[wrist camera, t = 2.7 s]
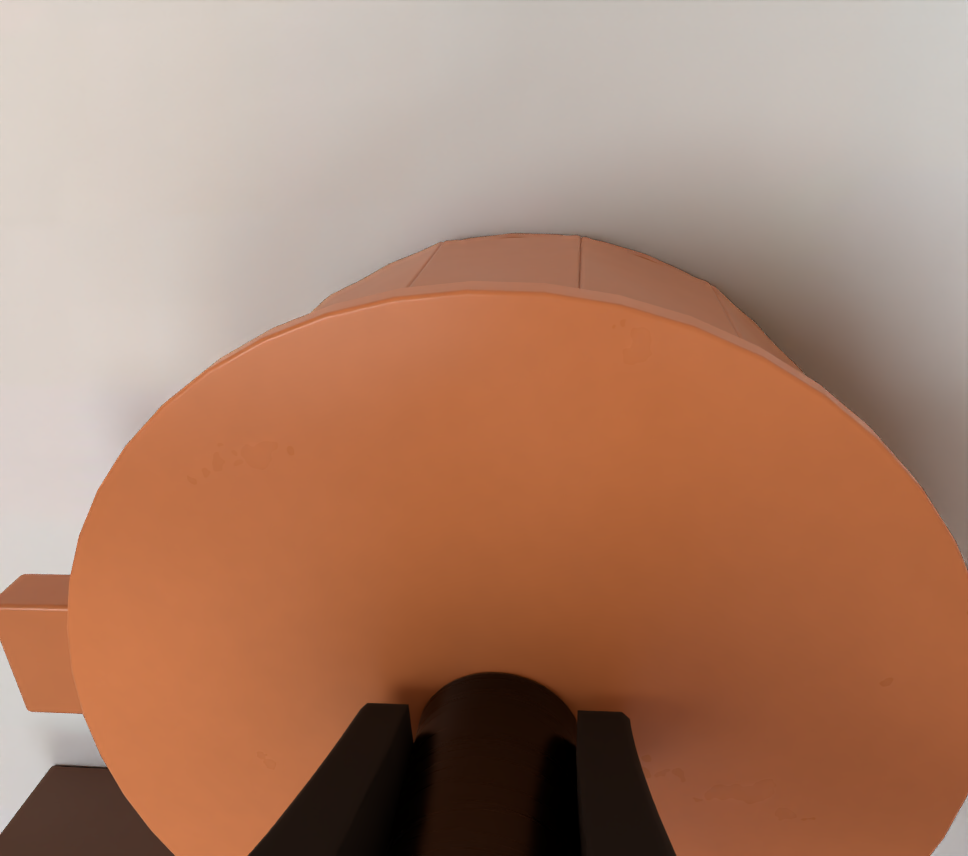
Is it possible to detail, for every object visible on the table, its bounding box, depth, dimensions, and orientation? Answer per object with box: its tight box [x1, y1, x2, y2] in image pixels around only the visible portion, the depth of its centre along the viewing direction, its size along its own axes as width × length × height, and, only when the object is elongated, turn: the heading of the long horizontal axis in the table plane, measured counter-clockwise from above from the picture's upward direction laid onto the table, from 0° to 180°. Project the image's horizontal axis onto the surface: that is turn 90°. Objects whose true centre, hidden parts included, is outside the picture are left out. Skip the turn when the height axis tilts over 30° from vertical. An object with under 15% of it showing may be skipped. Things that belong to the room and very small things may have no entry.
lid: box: [67, 281, 968, 856], centre depth 11 cm, size 13×13×4 cm
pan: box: [0, 233, 805, 714], centre depth 15 cm, size 12×18×5 cm
